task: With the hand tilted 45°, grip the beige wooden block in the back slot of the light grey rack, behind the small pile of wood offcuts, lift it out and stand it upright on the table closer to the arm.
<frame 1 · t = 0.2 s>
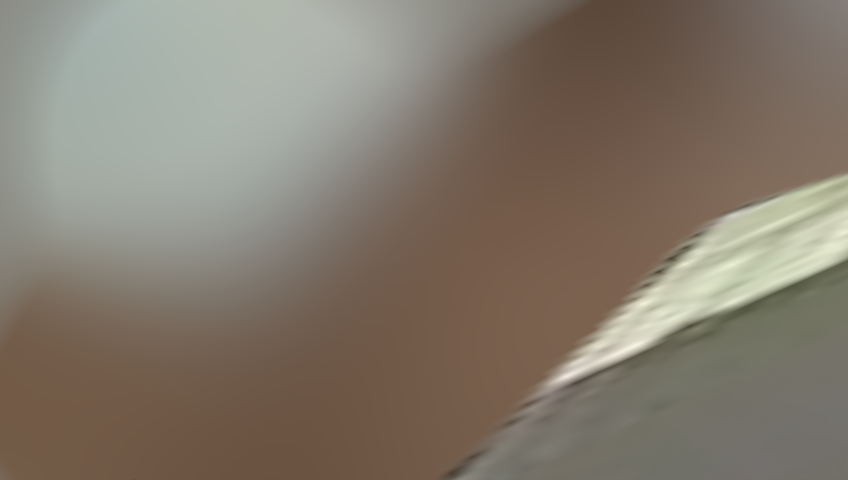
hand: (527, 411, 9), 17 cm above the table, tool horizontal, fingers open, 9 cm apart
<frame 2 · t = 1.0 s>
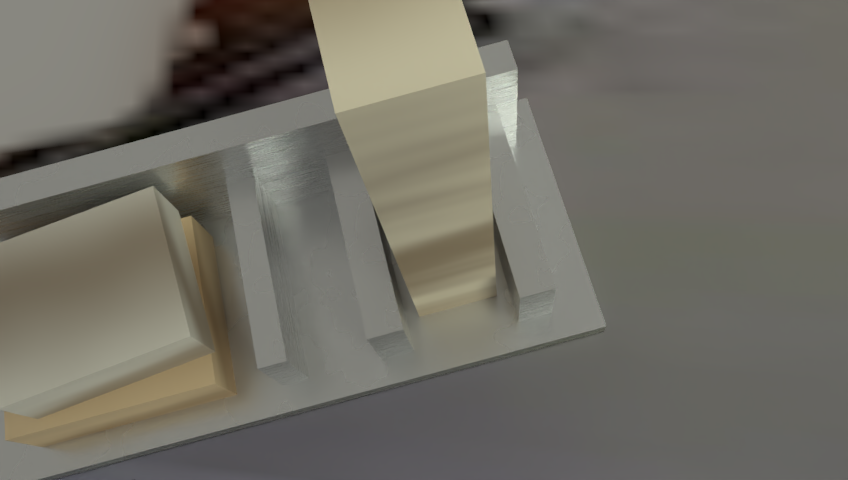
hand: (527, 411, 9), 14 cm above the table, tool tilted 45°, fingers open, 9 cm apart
offcut rack: (441, 245, 24), on the table
offcut pile: (130, 337, 24), point 1 cm above the table, touching offcut rack
beige wooden block: (439, 238, 24), point 1 cm above the table, touching offcut rack
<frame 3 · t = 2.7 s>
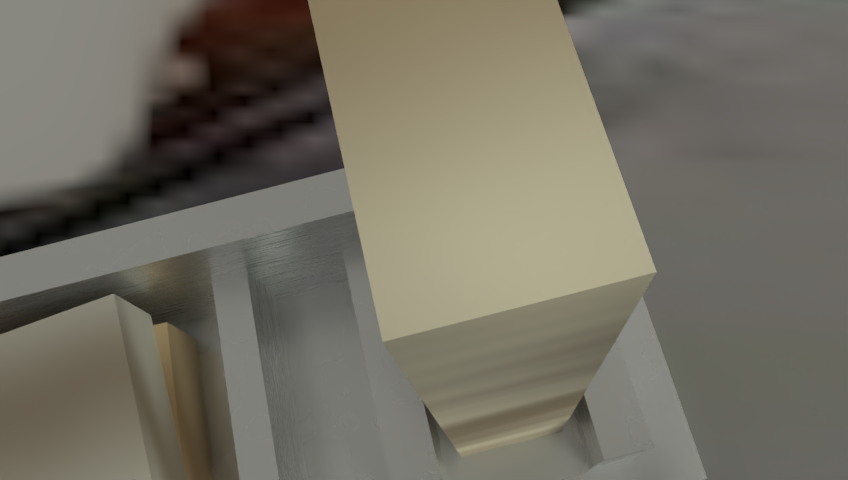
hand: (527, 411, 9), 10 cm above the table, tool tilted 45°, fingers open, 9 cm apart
offcut rack: (486, 355, 19), on the table
offcut pile: (89, 472, 18), point 1 cm above the table, touching offcut rack
beige wooden block: (486, 350, 19), point 1 cm above the table, touching offcut rack
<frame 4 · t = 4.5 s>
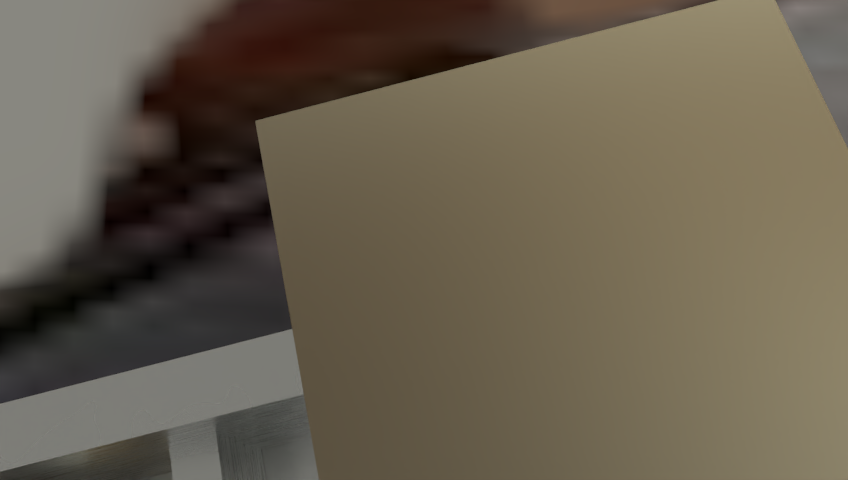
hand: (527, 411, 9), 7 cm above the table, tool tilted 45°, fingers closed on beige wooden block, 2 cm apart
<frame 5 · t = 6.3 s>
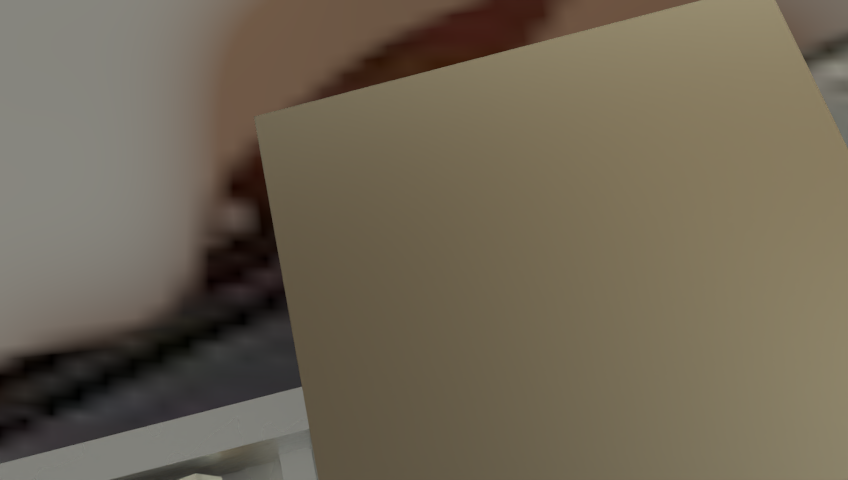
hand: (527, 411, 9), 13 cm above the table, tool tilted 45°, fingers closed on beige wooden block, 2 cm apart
when the fingers open (7 cm above the table, at t = 8.2 s): beige wooden block drops 2 cm, on the table.
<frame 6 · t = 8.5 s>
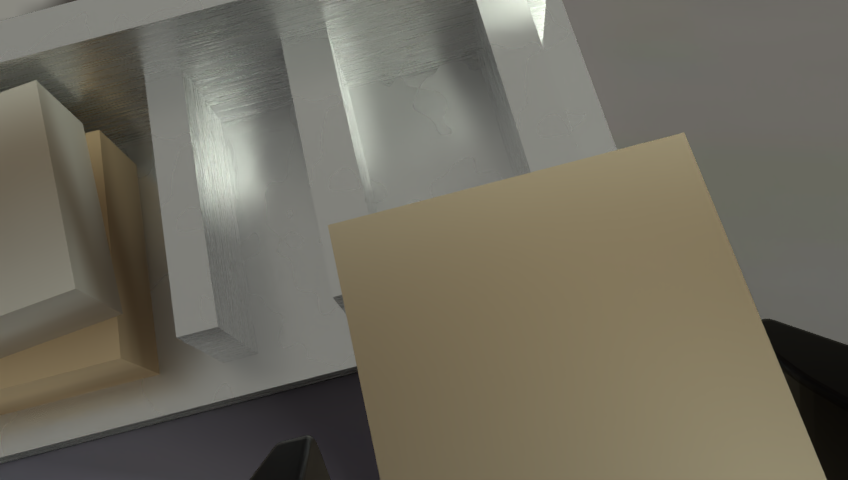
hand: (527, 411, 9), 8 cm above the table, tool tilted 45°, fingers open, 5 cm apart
offcut rack: (440, 179, 18), on the table
offcut pile: (21, 296, 18), point 1 cm above the table, touching offcut rack
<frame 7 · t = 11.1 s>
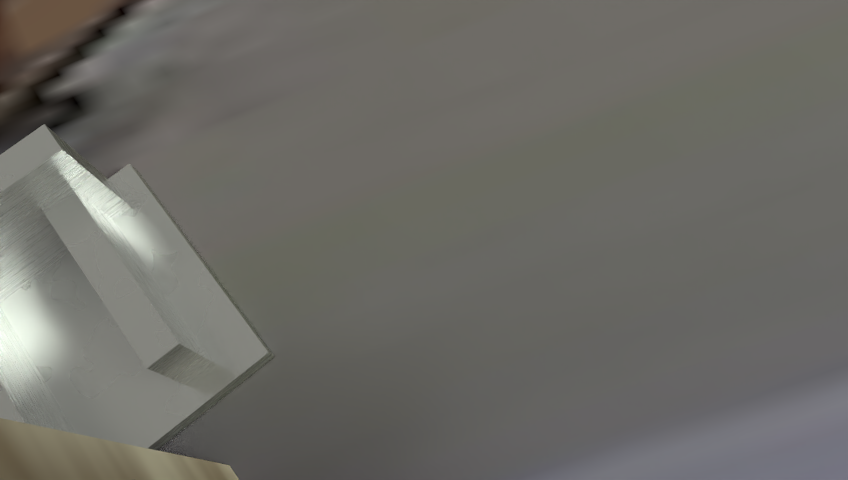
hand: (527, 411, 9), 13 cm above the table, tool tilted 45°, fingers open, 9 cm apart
offcut rack: (94, 340, 23), on the table
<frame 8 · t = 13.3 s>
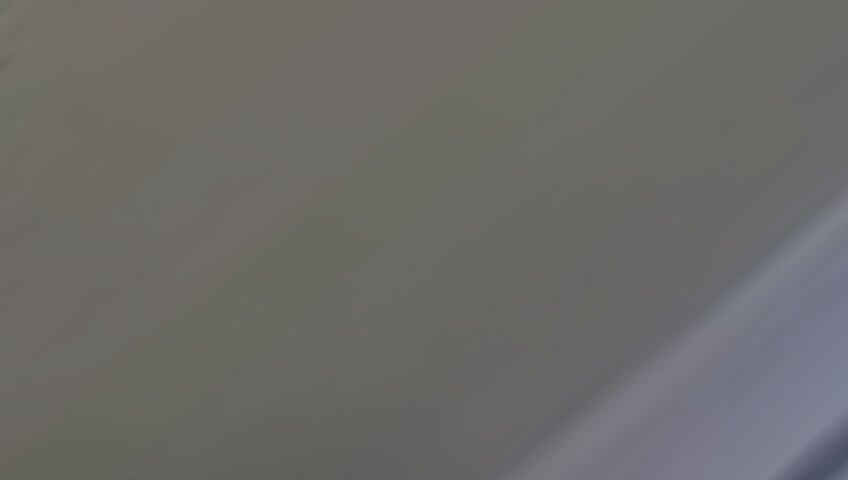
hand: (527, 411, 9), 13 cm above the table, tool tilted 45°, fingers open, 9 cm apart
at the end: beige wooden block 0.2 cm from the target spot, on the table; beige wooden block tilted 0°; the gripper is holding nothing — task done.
